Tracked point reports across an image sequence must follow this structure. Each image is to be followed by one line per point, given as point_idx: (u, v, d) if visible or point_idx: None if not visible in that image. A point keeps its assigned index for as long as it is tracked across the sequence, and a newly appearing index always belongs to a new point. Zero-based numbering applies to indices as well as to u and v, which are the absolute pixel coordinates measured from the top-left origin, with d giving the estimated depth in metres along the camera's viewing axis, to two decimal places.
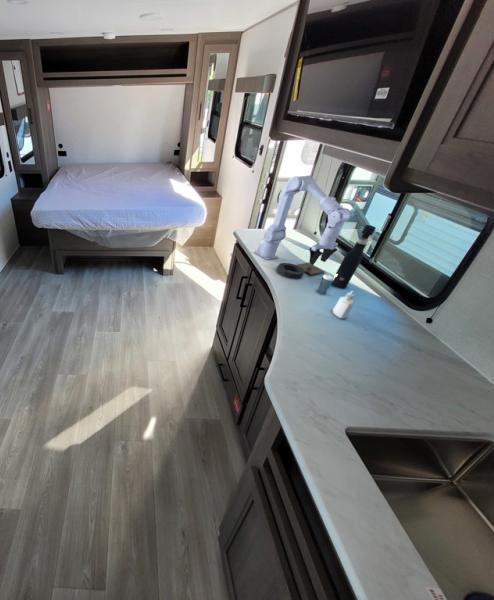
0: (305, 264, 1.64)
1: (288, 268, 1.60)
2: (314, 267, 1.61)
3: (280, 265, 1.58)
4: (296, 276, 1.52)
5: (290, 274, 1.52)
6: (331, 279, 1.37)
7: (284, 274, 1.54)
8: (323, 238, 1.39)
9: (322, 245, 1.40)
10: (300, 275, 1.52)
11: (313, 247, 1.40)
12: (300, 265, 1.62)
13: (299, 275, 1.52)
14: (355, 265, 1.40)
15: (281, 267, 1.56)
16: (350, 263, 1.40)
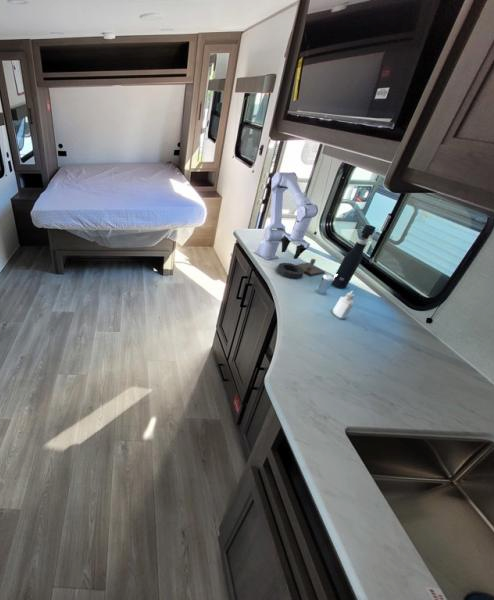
0: (305, 264, 1.64)
1: (288, 268, 1.60)
2: (314, 267, 1.61)
3: (280, 265, 1.58)
4: (296, 276, 1.52)
5: (290, 274, 1.52)
6: (331, 279, 1.37)
7: (284, 274, 1.54)
8: None
9: None
10: (300, 275, 1.52)
11: None
12: (300, 265, 1.62)
13: (299, 275, 1.52)
14: (355, 265, 1.40)
15: (281, 267, 1.56)
16: (350, 263, 1.40)
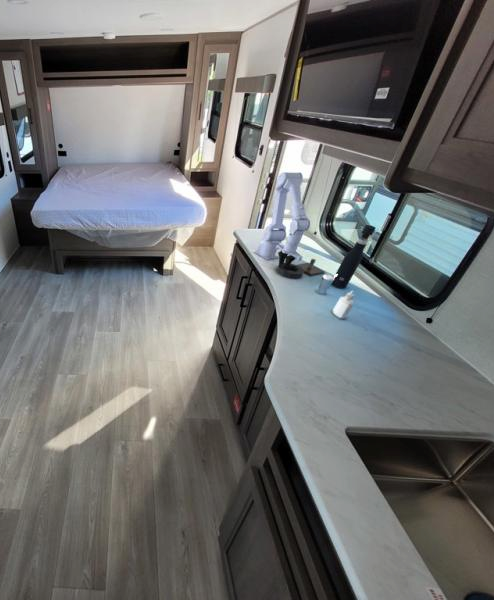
0: (305, 264, 1.64)
1: (288, 268, 1.60)
2: (314, 267, 1.61)
3: (280, 265, 1.58)
4: (296, 276, 1.52)
5: (290, 274, 1.52)
6: (331, 279, 1.37)
7: (283, 274, 1.54)
8: None
9: None
10: (300, 275, 1.52)
11: None
12: (300, 265, 1.62)
13: (299, 275, 1.52)
14: (355, 265, 1.40)
15: (281, 267, 1.56)
16: (350, 262, 1.40)
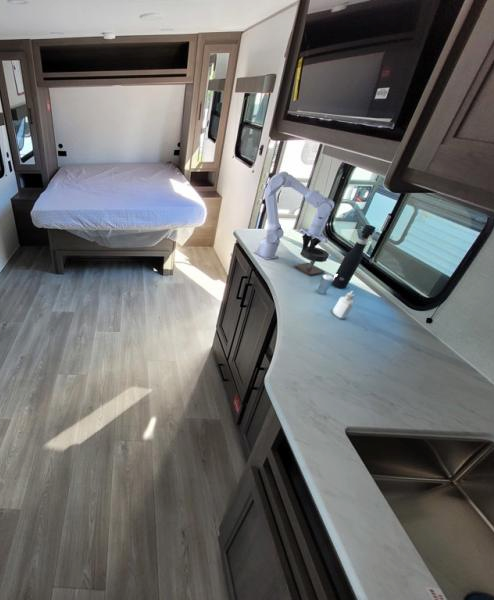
0: (305, 264, 1.64)
1: (312, 252, 1.58)
2: (314, 267, 1.61)
3: (304, 248, 1.57)
4: (321, 259, 1.50)
5: (315, 257, 1.50)
6: (331, 279, 1.37)
7: (308, 257, 1.52)
8: None
9: None
10: (325, 258, 1.51)
11: None
12: (300, 265, 1.62)
13: (324, 258, 1.50)
14: (355, 265, 1.40)
15: (305, 250, 1.55)
16: (350, 262, 1.40)
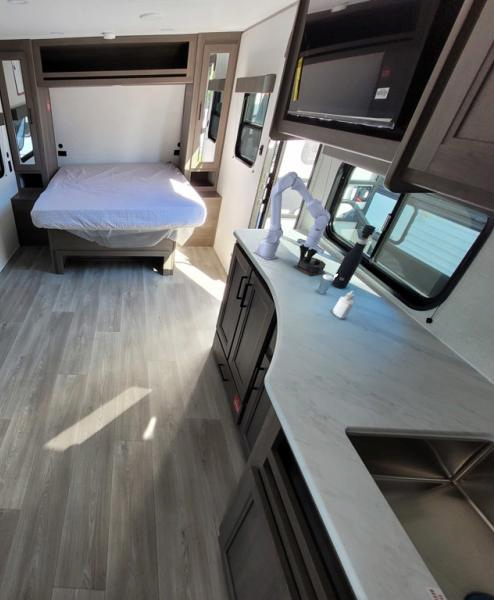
0: None
1: (309, 262, 1.62)
2: None
3: (301, 259, 1.60)
4: (318, 269, 1.54)
5: (312, 267, 1.54)
6: (331, 279, 1.37)
7: (306, 267, 1.56)
8: None
9: None
10: (322, 268, 1.55)
11: None
12: None
13: (321, 268, 1.54)
14: (355, 265, 1.40)
15: (303, 261, 1.59)
16: (350, 262, 1.40)
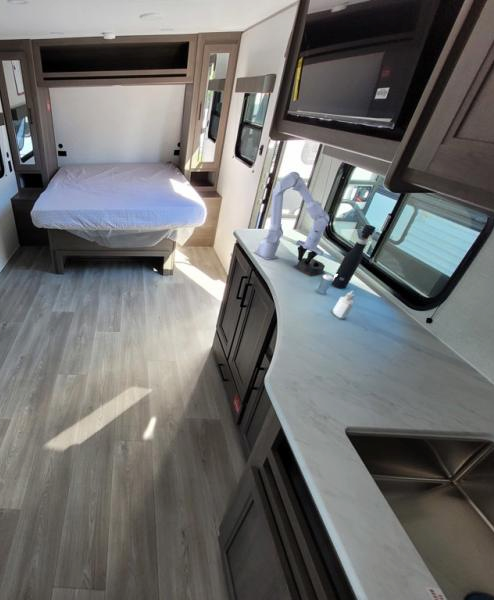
0: None
1: None
2: None
3: (301, 260, 1.61)
4: (317, 271, 1.55)
5: (311, 269, 1.55)
6: (331, 279, 1.37)
7: (305, 269, 1.57)
8: None
9: None
10: (321, 270, 1.55)
11: None
12: None
13: (320, 270, 1.55)
14: (355, 265, 1.40)
15: (302, 262, 1.59)
16: (350, 262, 1.40)
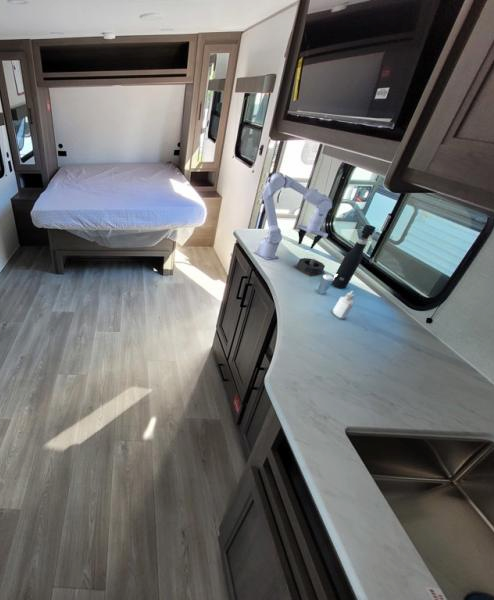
0: None
1: (308, 263, 1.63)
2: None
3: (301, 260, 1.61)
4: (317, 271, 1.55)
5: (311, 269, 1.55)
6: (331, 279, 1.37)
7: (305, 269, 1.57)
8: None
9: (306, 227, 1.59)
10: (321, 270, 1.55)
11: None
12: None
13: (320, 270, 1.55)
14: (355, 265, 1.40)
15: (302, 262, 1.59)
16: (350, 262, 1.40)
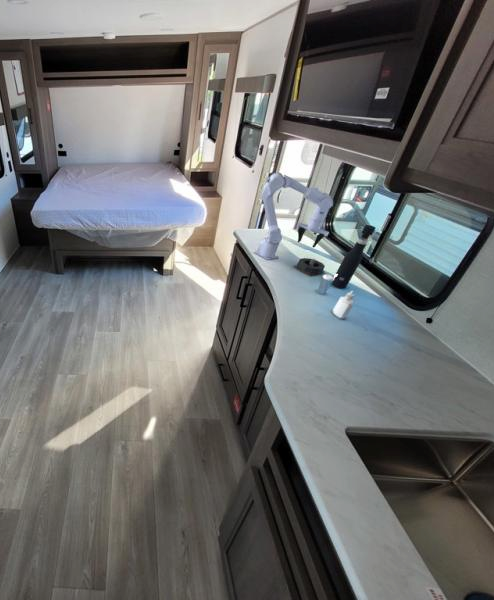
0: None
1: (308, 263, 1.63)
2: None
3: (301, 260, 1.61)
4: (317, 271, 1.55)
5: (311, 269, 1.55)
6: (331, 279, 1.37)
7: (305, 269, 1.57)
8: None
9: (307, 226, 1.59)
10: (321, 270, 1.55)
11: None
12: None
13: (320, 270, 1.55)
14: (355, 265, 1.40)
15: (302, 262, 1.59)
16: (350, 262, 1.40)
